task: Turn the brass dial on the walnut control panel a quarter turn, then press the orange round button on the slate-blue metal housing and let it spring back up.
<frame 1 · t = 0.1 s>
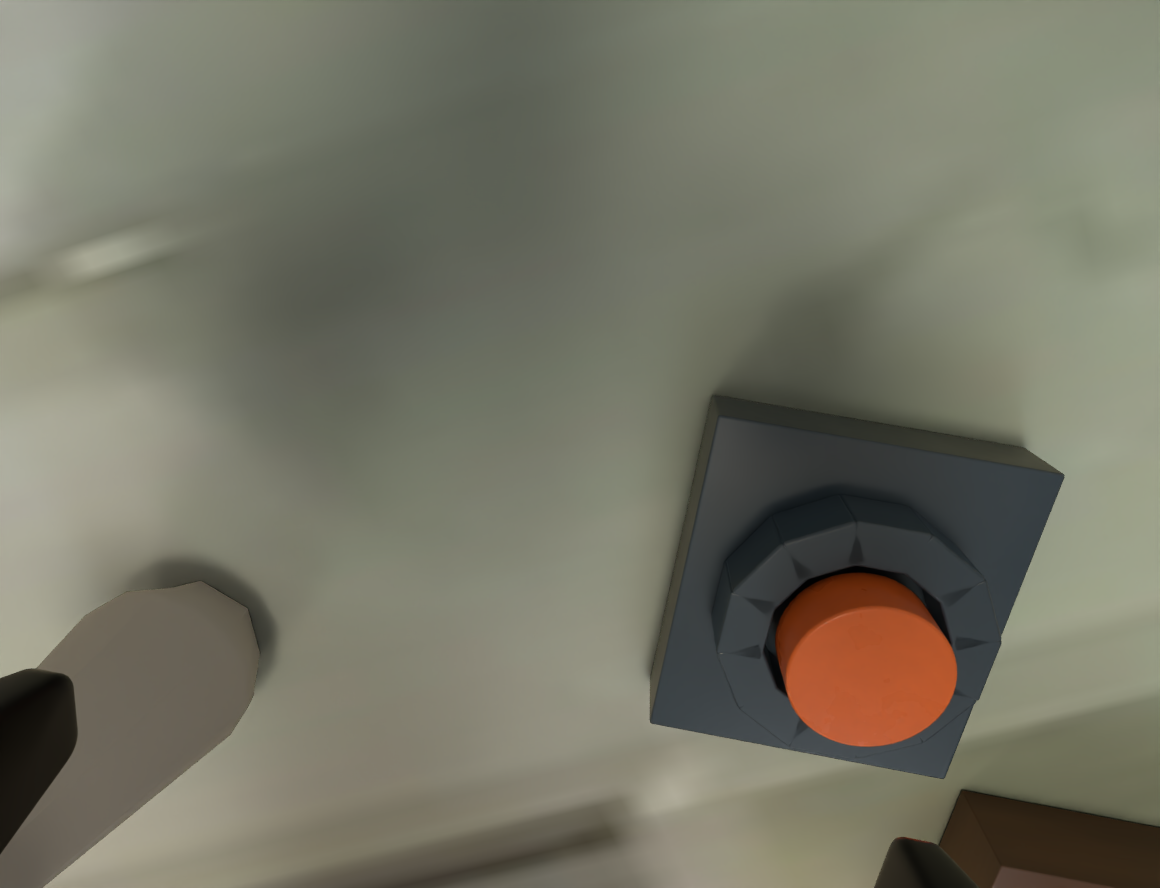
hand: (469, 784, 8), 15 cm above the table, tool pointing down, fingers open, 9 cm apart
button housing: (822, 572, 23), on the table
button: (861, 658, 18), point 4 cm above the table, slide at 0.1 cm
salt shaker: (207, 629, 26), on the table
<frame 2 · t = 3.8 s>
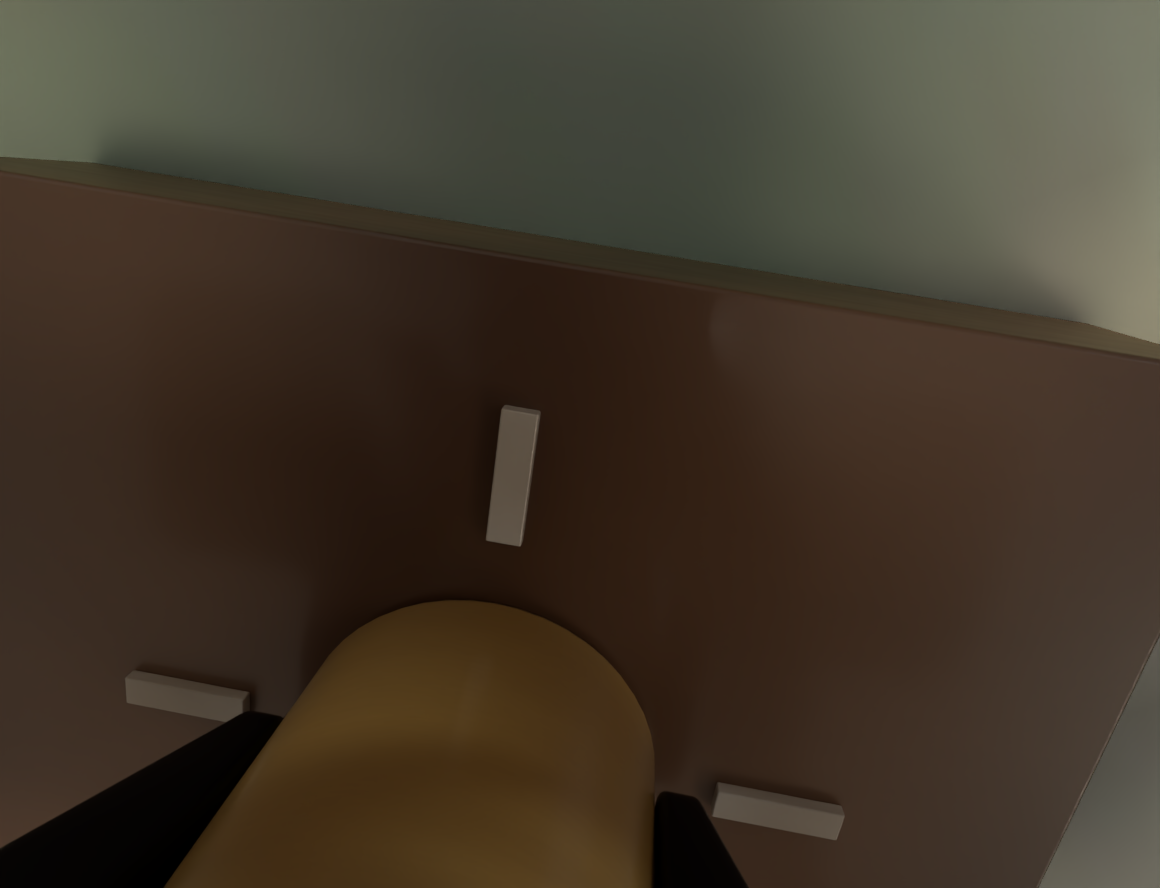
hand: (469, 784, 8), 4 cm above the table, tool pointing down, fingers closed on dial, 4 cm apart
dial panel: (523, 609, 11), on the table
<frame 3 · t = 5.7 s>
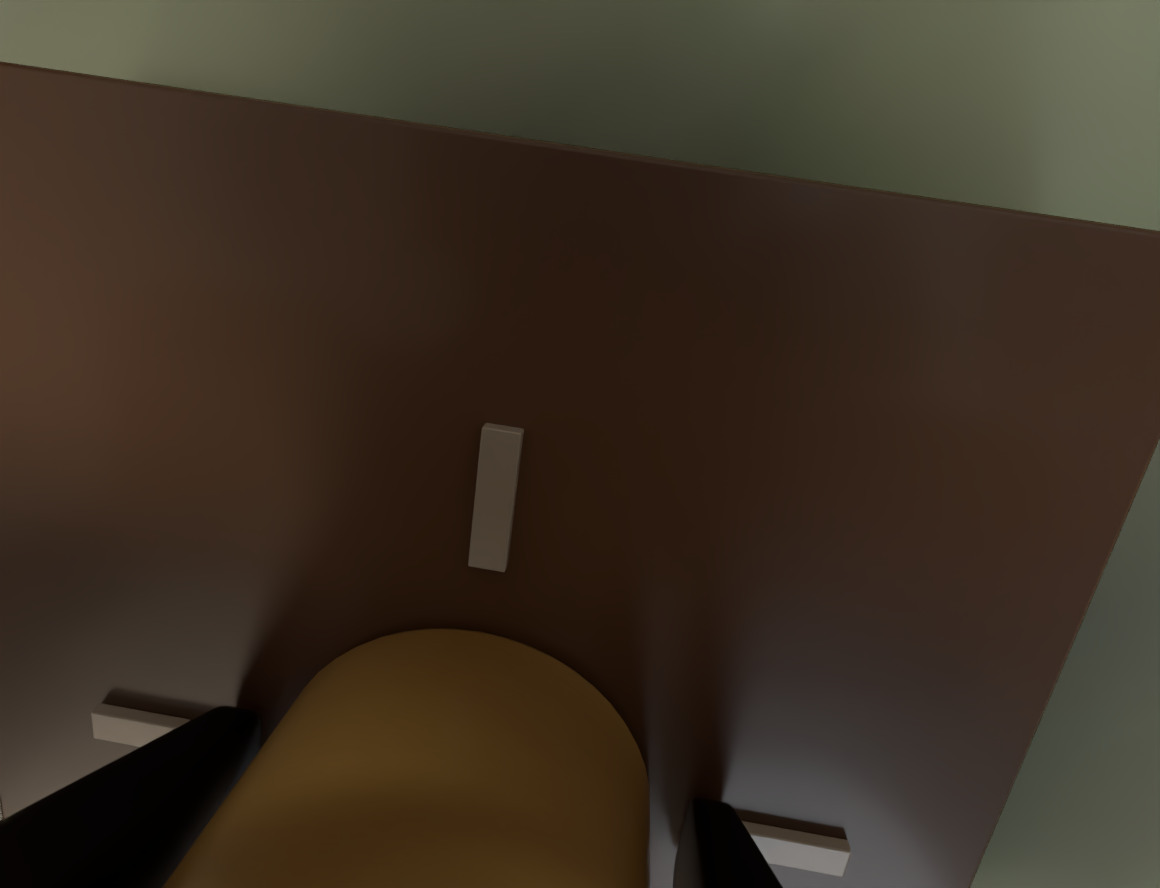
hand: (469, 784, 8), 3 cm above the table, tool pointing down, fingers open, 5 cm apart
dial panel: (513, 629, 11), on the table
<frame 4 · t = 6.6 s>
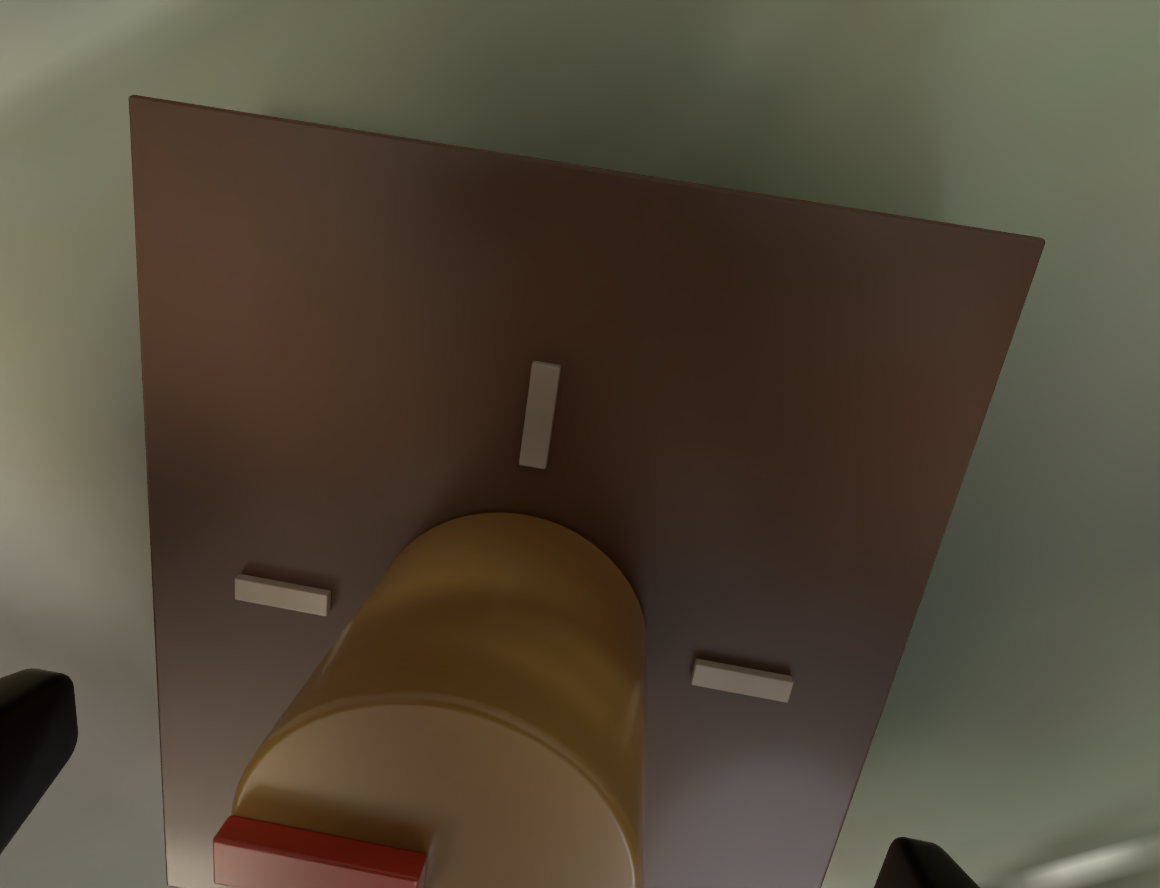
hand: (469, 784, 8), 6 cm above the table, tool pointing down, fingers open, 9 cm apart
dial panel: (540, 543, 14), on the table
dial: (475, 738, 9), point 5 cm above the table, hinge at 90.3°
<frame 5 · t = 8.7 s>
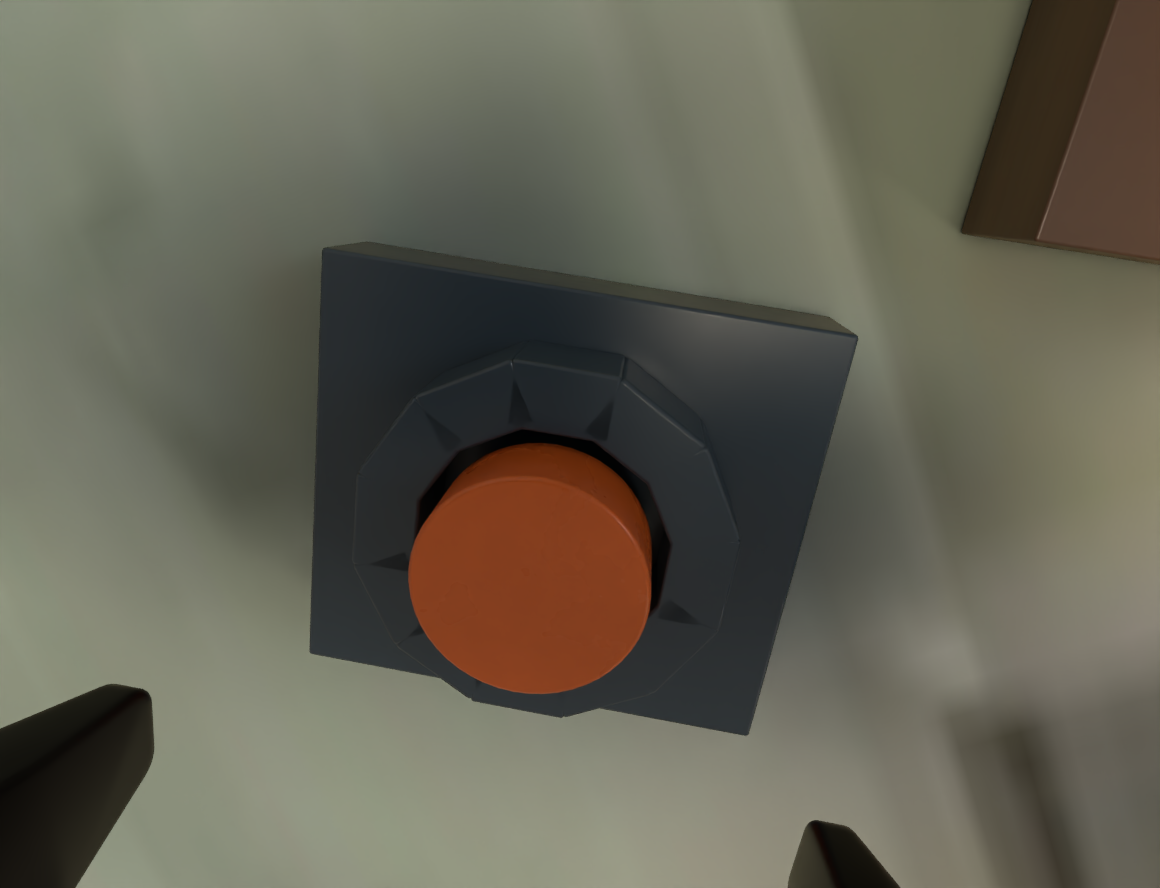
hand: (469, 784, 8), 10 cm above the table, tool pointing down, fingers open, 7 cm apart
button housing: (565, 474, 17), on the table
button: (535, 566, 13), point 4 cm above the table, slide at 0.1 cm
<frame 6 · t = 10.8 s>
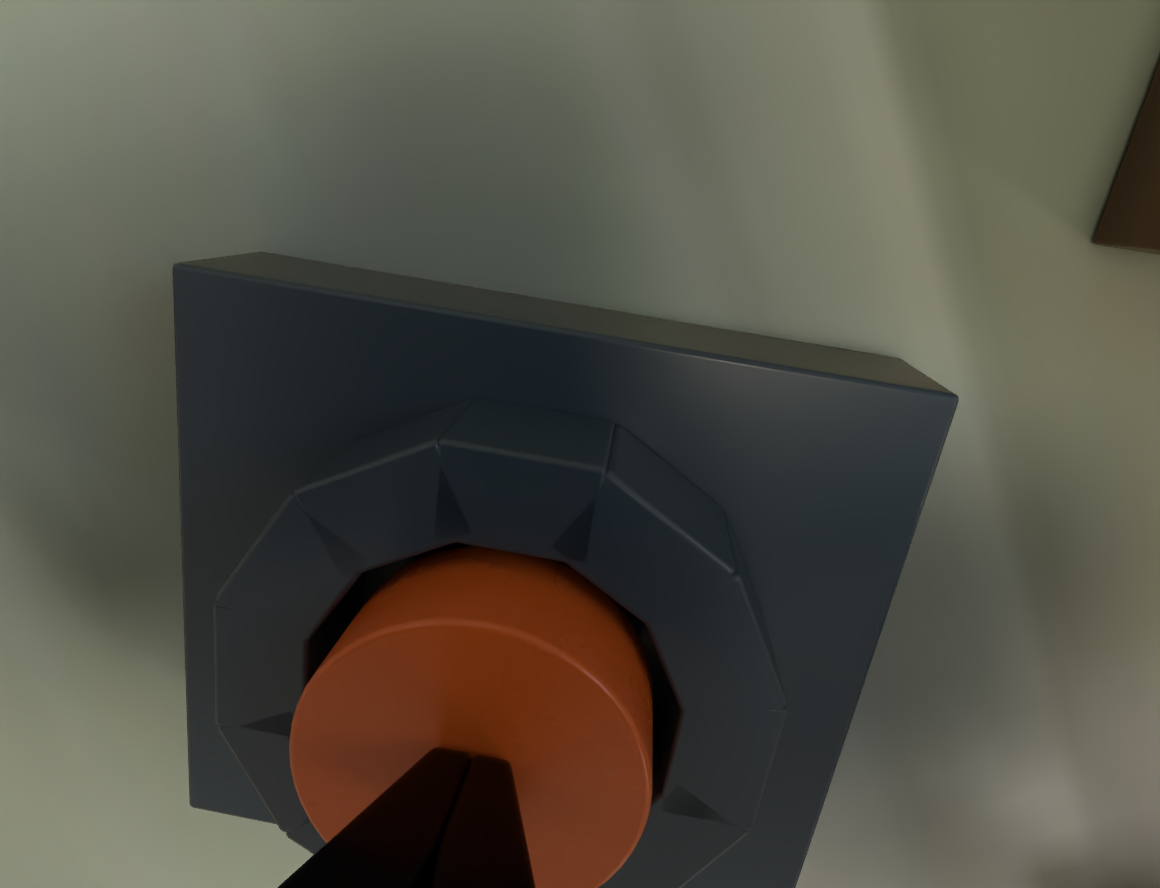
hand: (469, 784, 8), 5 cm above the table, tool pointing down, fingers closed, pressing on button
button housing: (536, 563, 13), on the table
button: (483, 728, 9), point 4 cm above the table, slide at -0.2 cm, touching gripper
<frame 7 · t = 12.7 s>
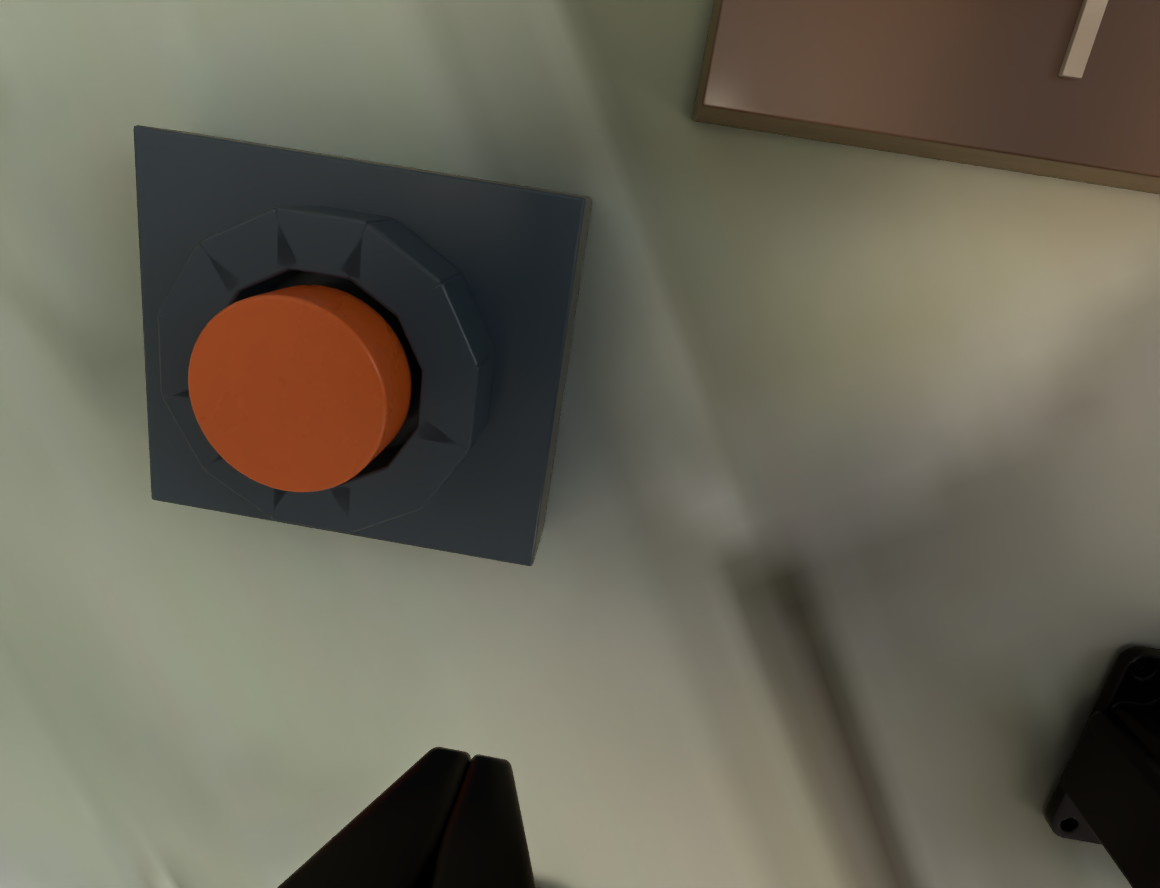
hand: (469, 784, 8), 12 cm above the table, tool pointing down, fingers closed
button housing: (379, 345, 19), on the table
button: (305, 387, 15), point 4 cm above the table, slide at 0.1 cm
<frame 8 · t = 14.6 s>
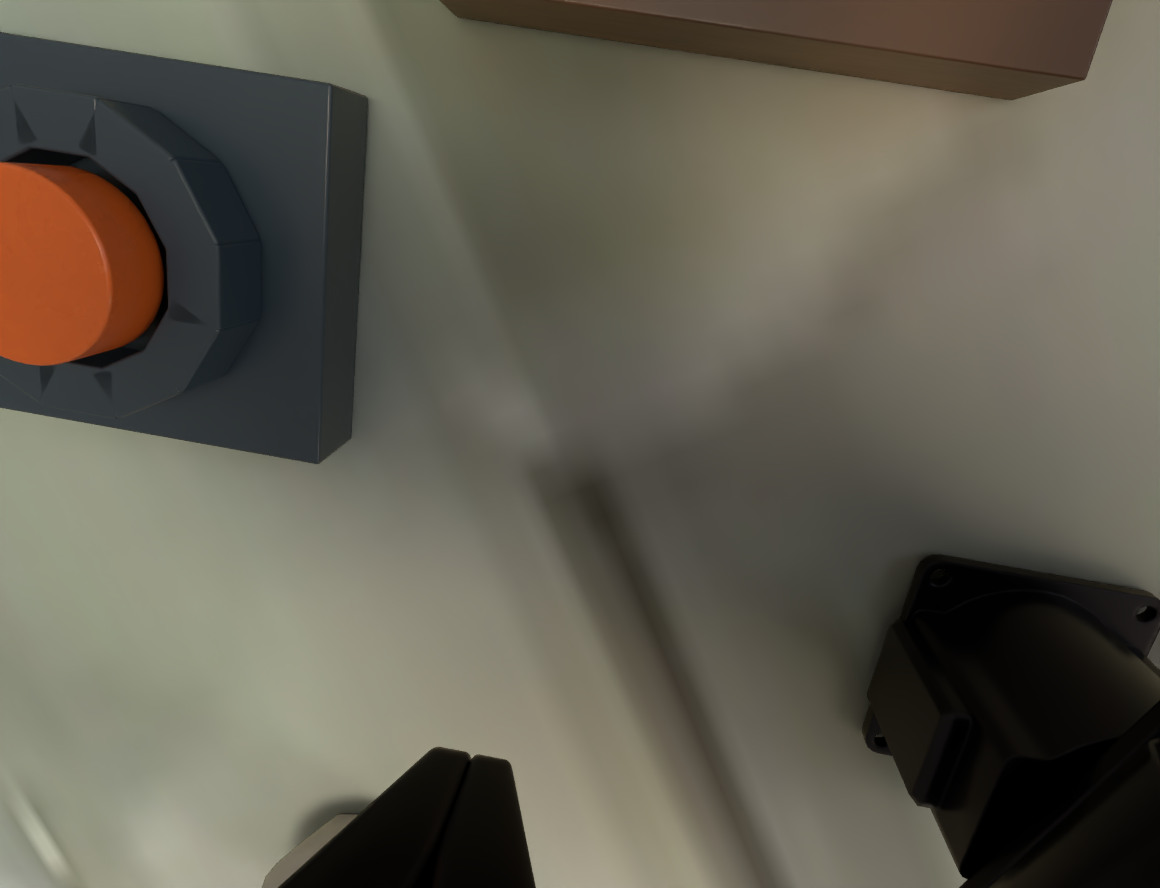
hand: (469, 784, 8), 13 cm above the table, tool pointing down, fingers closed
button housing: (179, 250, 20), on the table
button: (49, 264, 15), point 4 cm above the table, slide at 0.1 cm
salt shaker: (374, 851, 26), on the table
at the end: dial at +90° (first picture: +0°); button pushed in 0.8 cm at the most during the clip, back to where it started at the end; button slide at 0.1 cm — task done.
